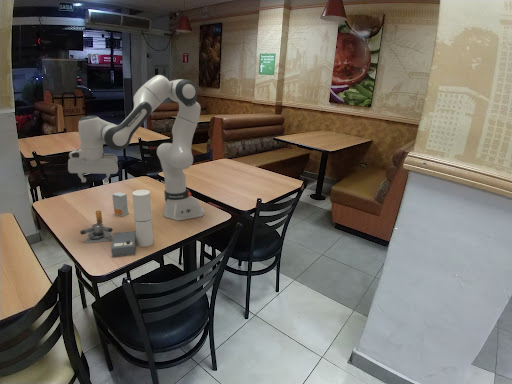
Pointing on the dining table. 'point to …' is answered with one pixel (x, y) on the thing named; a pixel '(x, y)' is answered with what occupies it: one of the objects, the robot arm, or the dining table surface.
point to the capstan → (97, 228)
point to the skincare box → (120, 204)
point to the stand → (118, 242)
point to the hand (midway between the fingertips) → (95, 182)
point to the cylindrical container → (143, 217)
